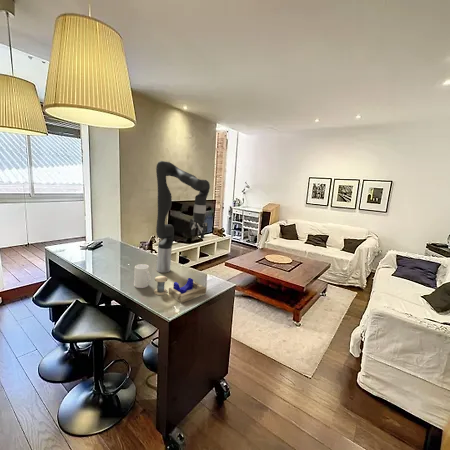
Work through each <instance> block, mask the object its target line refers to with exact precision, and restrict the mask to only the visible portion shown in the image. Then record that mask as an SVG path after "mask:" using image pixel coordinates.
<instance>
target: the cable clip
mask: <svg viewBox="0 0 450 450" xmlns="http://www.w3.org/2000/svg"><path fill="white" fill-rule="evenodd" d="M193 281H194V279H193V278H191V277H189V278H187V281H186V283H185V284H184V285H183V286H182V287H180V283H178V282H177V281H175V282H173V287H172V288H174V289H175V290H177V291H179V292H180V293H181V294H183V293H186V291H187V290H190V289H192V288H193Z"/></svg>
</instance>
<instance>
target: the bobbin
mask: <svg viewBox="0 0 450 450" xmlns="http://www.w3.org/2000/svg"><path fill="white" fill-rule="evenodd" d="M154 281H155V282H157V283H156V284H157V285H156V289H154V291H153V293H154V294H155V295H156V296H163V295H166V294H167V291H168V290H167V289H166V288H165V285H166V284H165V282H167V281H168V277H167V276H165V275H158V276H155V278H154Z"/></svg>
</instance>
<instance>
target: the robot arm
mask: <svg viewBox="0 0 450 450" xmlns="http://www.w3.org/2000/svg"><path fill="white" fill-rule="evenodd" d="M155 169H156V180H157V181H156V183H157V219H156V227H155V228H156V229H155V230H156V236H157V238H158V239H162V240H161V241H159V242H158V245H157V256H156V265H155V266H156V267H155V268H156V271H157V272H158V273H161V274H163V273H164V274H166V273H169V272H170V271H171V265H172V263H171V262H172V250H173V249H172V247H173V243H174V236H175V229H174V226H173V224H170V223H169V224H168V223H167V224H166V218H167V216H168V213H169V211H170V210H171V208H172V202H173V201H172V199H173V198H172V197H173V196H172V193H171V190H170V188H169V186H168V183H167V177H174V178H176V179H178V180H179V181H180V182H181V183H183V184H185V185H186V186H189V187H190V188H192V189H193V190H195V191H197V192H198V194H197V195H195V197H194V206H193V216H192V218H191V219H190V221H189V229H191V232H190V233H191V236H195V235H196V228H197V229H198V230H199V231H200V236H199V237H200V239H201V240H203V239H204V238H205V233H208V222H205V219H206V212H207V197H209V196H208V195H209V192H210V188H211V185H210V182H209V180H207V179H200V178H197V177H196V175H194V174H191V173H189V172H187V171H184V170H183V169H181V168H179V167H178V166H177V165H175V164H174V163H171V162H170V161H163V160H160V161H158V162H157V164H156V168H155Z"/></svg>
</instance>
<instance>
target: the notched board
mask: <svg viewBox="0 0 450 450" xmlns="http://www.w3.org/2000/svg"><path fill="white" fill-rule="evenodd" d="M206 293H207V287H205V286H204V285H202V284H199V282H196V281H194V280H193V288H192V289H190V290H187V291H186V293H183V294H181V293H180V292H179V291H177V290H175V289H174V288H173V287H172V286H171V287H169V288H168V296H169V297H171V298H173V299H174V300H176V301H177V302H179V303H180V304H183V303H185V302H188V301H191V300H194V299H197V298H198V297H199V298H200V297H201V296H204V295H206Z"/></svg>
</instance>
